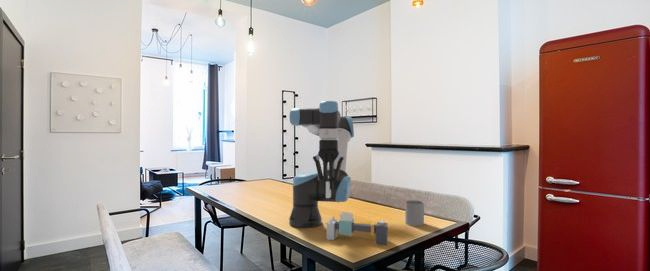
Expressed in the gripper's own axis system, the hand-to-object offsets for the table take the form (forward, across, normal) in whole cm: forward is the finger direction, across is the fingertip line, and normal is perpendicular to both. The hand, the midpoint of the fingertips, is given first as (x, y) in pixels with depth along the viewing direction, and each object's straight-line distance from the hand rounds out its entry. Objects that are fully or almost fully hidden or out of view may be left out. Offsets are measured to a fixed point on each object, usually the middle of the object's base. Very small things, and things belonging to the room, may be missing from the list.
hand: (328, 197), depth 130 cm
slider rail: (+16, +12, 0) cm, 20 cm away
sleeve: (+14, +8, 0) cm, 16 cm away
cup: (+16, +34, +30) cm, 48 cm away
